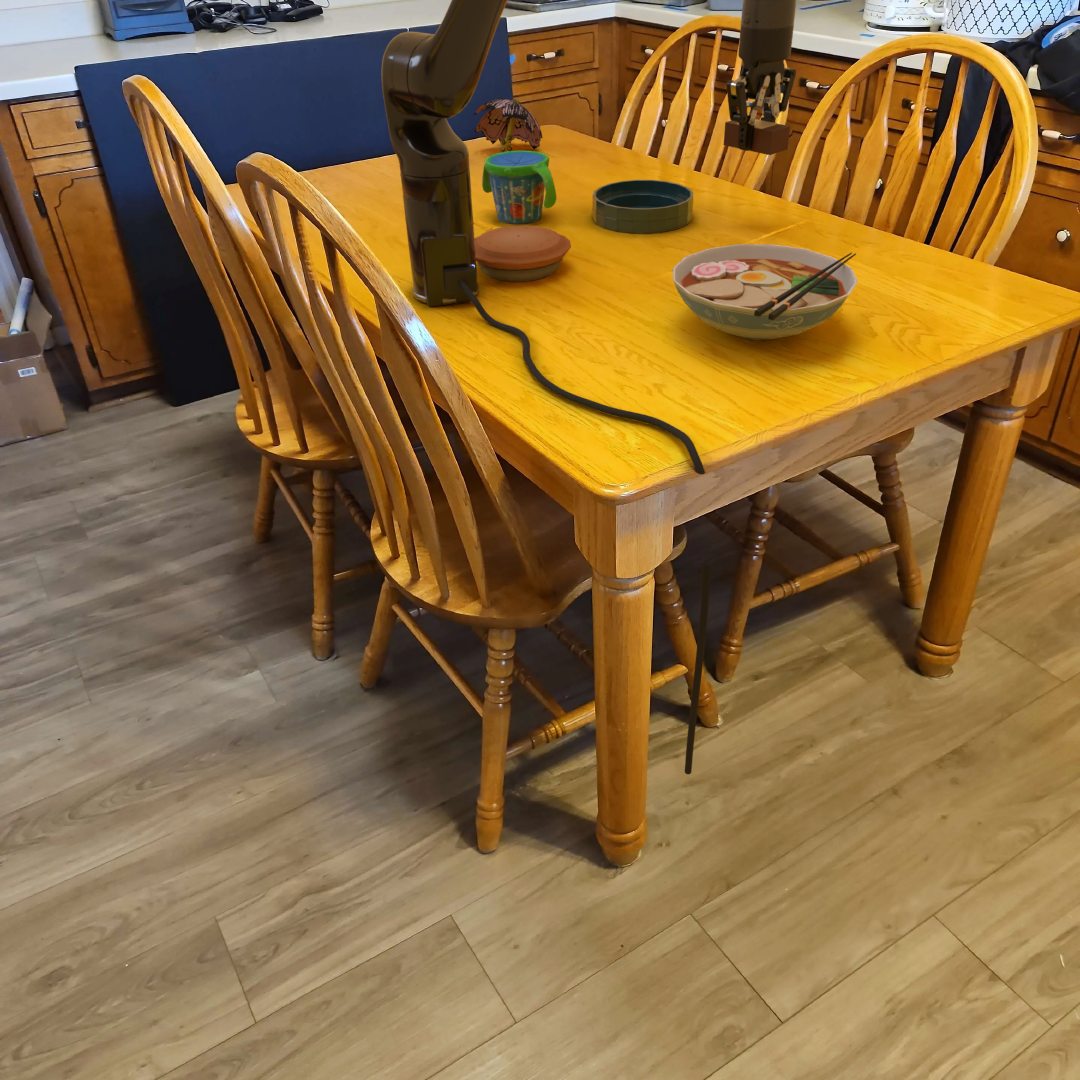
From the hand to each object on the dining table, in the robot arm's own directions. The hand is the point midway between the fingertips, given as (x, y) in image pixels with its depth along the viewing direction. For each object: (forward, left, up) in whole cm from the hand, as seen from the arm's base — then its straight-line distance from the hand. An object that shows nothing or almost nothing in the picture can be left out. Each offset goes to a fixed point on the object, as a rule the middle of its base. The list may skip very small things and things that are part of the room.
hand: (755, 146), depth 147 cm
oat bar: (0, 0, 0) cm, 0 cm away
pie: (-7, +39, -13) cm, 42 cm away
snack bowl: (+10, +15, -13) cm, 22 cm away
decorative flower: (+61, +29, -13) cm, 69 cm away
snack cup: (+16, +35, -13) cm, 41 cm away
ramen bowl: (-37, +13, -13) cm, 42 cm away
